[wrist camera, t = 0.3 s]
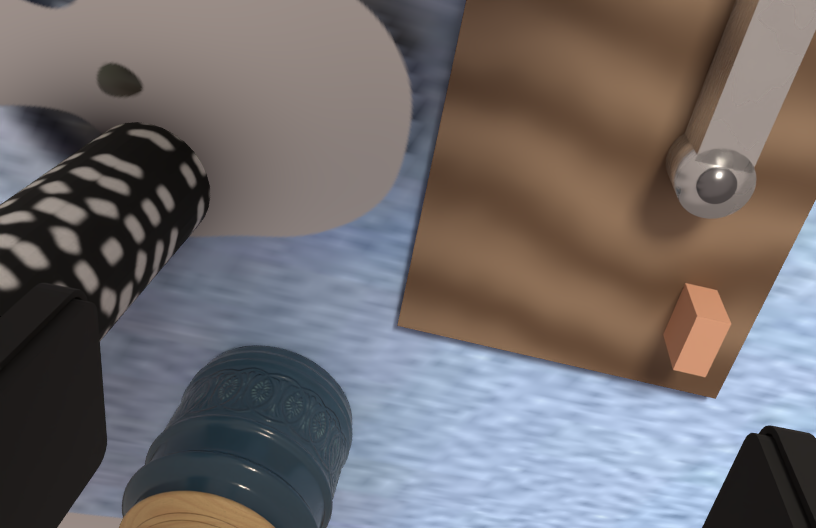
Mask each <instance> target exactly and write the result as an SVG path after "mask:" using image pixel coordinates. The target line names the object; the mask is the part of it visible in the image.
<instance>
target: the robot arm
mask: <svg viewBox="0 0 816 528" xmlns="http://www.w3.org/2000/svg"><path fill="white" fill-rule="evenodd" d="M106 446H107V433H106V419H105V406H104V393H103V379H102V366H101V353H100V339H99V326H98V312H97V307H96V305H95V304H94V303H93V302H89V301H87V296H86V294H85V293H84V291H82V290H80V289H75V288H70V287H65V286H60V285H54V284H49V283H39V284H38V285H36V286H35V287H33V288H32V289H31V290H30V291H29V292H28V293H27V294H26V295H25V296H23V297H22V298H21V299H20V300H19V301H18V302H17V303H16V304H14V305H13V306H12V307H11V308H10V309H9V310H8V311H7V312H6V313H4V314H3V315H2V316H1V317H0V528H57V527H58V525H59V524H60V523H61V521H62V520H63V518H64V517H65V515H66V514H67V513H68V511H69V510H70V508H71V507H72V505H73V504H74V502H75V501H76V499H77V498H78V497H79V495H80V494H81V492H82V491H83V489H84V488H85V486H86V485H87V483H88V482H89V481H90V479H91V478H92V476H93V475H94V473H95V472H96V470H97V469H98V467H99V466H100V464H101V462H102V460H103V458H104V455H105V451H106ZM702 528H816V438H815V437H814V436H813V435H812V434H810V433H806V432H801V431H796V430H791V429H786V428H780V427H775V426H765V427H764V428H763V429H762V430H761V431H760V433H759V434H757V433H750V434H749V435H747V437H746V438H745V440H744V442H743V444H742V446H741V448H740V450H739V452H738V454H737V456H736V458H735V461H734V463H733V465H732V467H731V469H730V471H729V473H728V475H727V477H726V479H725V481H724V483H723V485H722V488H721V490H720V492H719V494H718V496H717V498H716V500H715V502H714V504H713V506H712V508H711V510H710V512H709V514H708V517H707V519H706V521H705V523H704V525H703V527H702Z"/></svg>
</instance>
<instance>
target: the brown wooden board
mask: <svg viewBox="0 0 816 528" xmlns="http://www.w3.org/2000/svg"><path fill="white" fill-rule="evenodd" d="M735 2H736V0H466V4H465V9H464V13H463V18H462V23H461V28H460V32H459V37H458V42H457V46H456V51H455V56H454V61H453V65H452V70H451V75H450V80H449V84H448V89H447V94H446V98H445V103H444V108H443V113H442V117H441V122H440V127H439V132H438V136H437V141H436V146H435V150H434V155H433V160H432V165H431V169H430V174H429V179H428V183H427V188H426V193H425V198H424V202H423V207H422V212H421V217H420V221H419V226H418V231H417V235H416V240H415V245H414V250H413V254H412V259H411V264H410V268H409V273H408V278H407V283H406V287H405V292H404V297H403V302H402V306H401V311H400V316H399V320H398V325H397V326H401V327H405V328H410V329H414V330H419V331H423V332H427V333H432V334H436V335H440V336H445V337H449V338H453V339H458V340H462V341H467V342H471V343H475V344H480V345H484V346H488V347H493V348H497V349H501V350H506V351H510V352H514V353H519V354H523V355H528V356H532V357H536V358H541V359H545V360H549V361H554V362H558V363H562V364H567V365H571V366H576V367H580V368H584V369H589V370H593V371H597V372H602V373H606V374H610V375H615V376H619V377H623V378H628V379H632V380H637V381H641V382H645V383H650V384H654V385H658V386H663V387H667V388H671V389H676V390H680V391H685V392H689V393H693V394H698V395H702V396H706V397H711V398H715V399H716V397H717V395H718V393H719V391H720V389H721V387H722V385H723V383H724V381H725V379H726V377H727V375H728V373H729V371H730V369H731V367H732V365H733V363H734V361H735V359H736V357H737V355H738V353H739V351H740V349H741V347H742V345H743V343H744V341H745V339H746V337H747V335H748V333H749V331H750V329H751V327H752V325H753V323H754V321H755V319H756V317H757V316H758V314H759V312H760V310H761V308H762V306H763V304H764V302H765V300H766V298H767V296H768V294H769V292H770V290H771V288H772V286H773V284H774V282H775V280H776V278H777V276H778V274H779V272H780V270H781V268H782V266H783V264H784V262H785V260H786V258H787V256H788V254H789V252H790V250H791V248H792V246H793V244H794V242H795V240H796V238H797V236H798V234H799V232H800V230H801V228H802V226H803V224H804V222H805V220H806V218H807V216H808V214H809V212H810V210H811V208H812V206H813V204H814V202H815V200H816V30H815V33H814V35H813V37H812V39H811V42H810V44H809V46H808V48H807V51H806V53H805V55H804V57H803V59H802V62H801V64H800V66H799V68H798V71H797V73H796V75H795V77H794V80H793V82H792V84H791V86H790V89H789V91H788V93H787V95H786V98H785V100H784V102H783V104H782V107H781V109H780V111H779V113H778V116H777V118H776V120H775V122H774V125H773V127H772V129H771V131H770V133H769V136H768V138H767V140H766V142H765V145H764V147H763V149H762V151H761V154H760V156H759V158H758V160H757V163H756V165H755V167H754V169H755V172H756V186H755V190H754V192H753V194H752V196H751V198H750V199H749V201H748V202H747V203H746V204H745V205H744V206H743V207H742V208H741V209H739V210H738V211H736V212H734V213H733V214H730V215H728V216H725V217H722V218H715V219H707V218H701V217H698V216H695V215H693V214H691V213H690V212H688V211H687V210H686V209H685V208H684V207H683V206H682V205H681V203H680V201H679V199H678V197H677V195H676V192H675V190H674V188H673V185H672V183H671V181H670V178H669V176H668V173H667V170H666V157H667V154H668V151H669V149H670V147H671V146H672V144H673V143H674V142H675V140H676V139H677V138H678V137H680V136H681V135H682V134H684V133H685V131H686V129H687V126H688V123H689V121H690V118H691V116H692V113H693V110H694V108H695V105H696V103H697V100H698V97H699V95H700V92H701V90H702V87H703V85H704V82H705V79H706V77H707V74H708V72H709V69H710V66H711V64H712V61H713V59H714V56H715V53H716V51H717V48H718V46H719V43H720V41H721V38H722V35H723V33H724V30H725V28H726V25H727V22H728V20H729V17H730V15H731V12H732V9H733V7H734V4H735ZM685 283H687V284H692V285H696V286H701V287H705V288H710V289H714V290H717V291H718V293H719V296H720V298H721V300H722V303H723V305H724V308H725V310H726V312H727V315H728V317H729V319H730V322H731V326H730V328H729V330H728V332H727V334H726V336H725V338H724V340H723V342H722V344H721V346H720V349H719V351H718V353H717V355H716V357H715V359H714V361H713V363H712V365H711V367H710V369H709V371H708V373H707V375H706V377H702V376H698V375H693V374H689V373H685V372H680V371H676V370H673V368H672V364H671V361H670V357H669V354H668V350H667V346H666V343H665V339H664V336H663V334H664V332H665V329H666V327H667V325H668V322H669V320H670V318H671V315H672V313H673V311H674V308H675V306H676V304H677V301H678V299H679V297H680V295H681V292H682V290H683V288H684V285H685Z"/></svg>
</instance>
